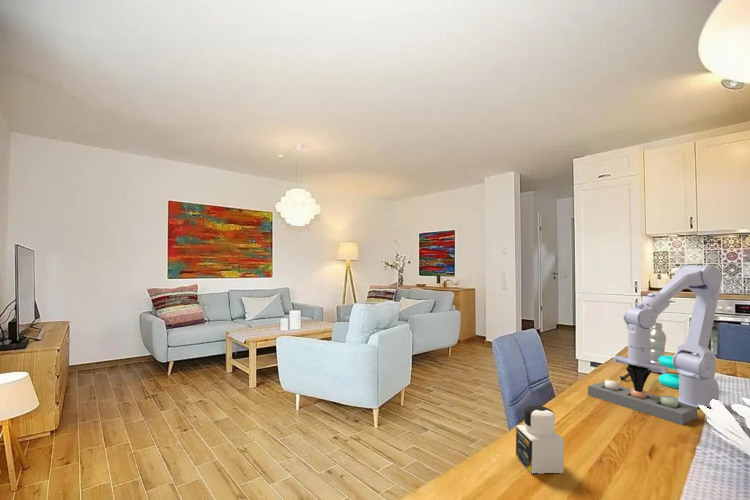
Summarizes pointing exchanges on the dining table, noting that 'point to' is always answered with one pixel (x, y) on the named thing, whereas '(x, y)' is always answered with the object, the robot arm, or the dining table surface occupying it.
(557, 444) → the medicine bottle
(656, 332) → the plastic bottle
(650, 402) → the button panel
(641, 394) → the button terracotta
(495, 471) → the dining table surface
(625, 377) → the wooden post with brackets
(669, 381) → the donuts
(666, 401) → the button sage
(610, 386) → the button cream
